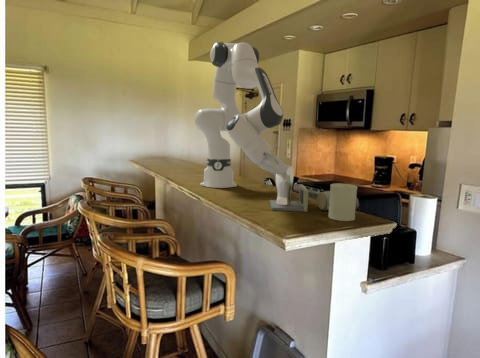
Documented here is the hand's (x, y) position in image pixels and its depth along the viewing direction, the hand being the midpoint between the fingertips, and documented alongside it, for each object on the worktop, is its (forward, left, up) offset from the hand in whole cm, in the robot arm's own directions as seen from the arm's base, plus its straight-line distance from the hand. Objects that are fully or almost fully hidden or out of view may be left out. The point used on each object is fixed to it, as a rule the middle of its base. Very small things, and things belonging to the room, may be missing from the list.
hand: (281, 177), depth 135 cm
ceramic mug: (+4, +19, -12) cm, 23 cm away
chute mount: (0, +2, -12) cm, 12 cm away
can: (+14, +20, -12) cm, 27 cm away
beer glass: (0, +1, -11) cm, 11 cm away
